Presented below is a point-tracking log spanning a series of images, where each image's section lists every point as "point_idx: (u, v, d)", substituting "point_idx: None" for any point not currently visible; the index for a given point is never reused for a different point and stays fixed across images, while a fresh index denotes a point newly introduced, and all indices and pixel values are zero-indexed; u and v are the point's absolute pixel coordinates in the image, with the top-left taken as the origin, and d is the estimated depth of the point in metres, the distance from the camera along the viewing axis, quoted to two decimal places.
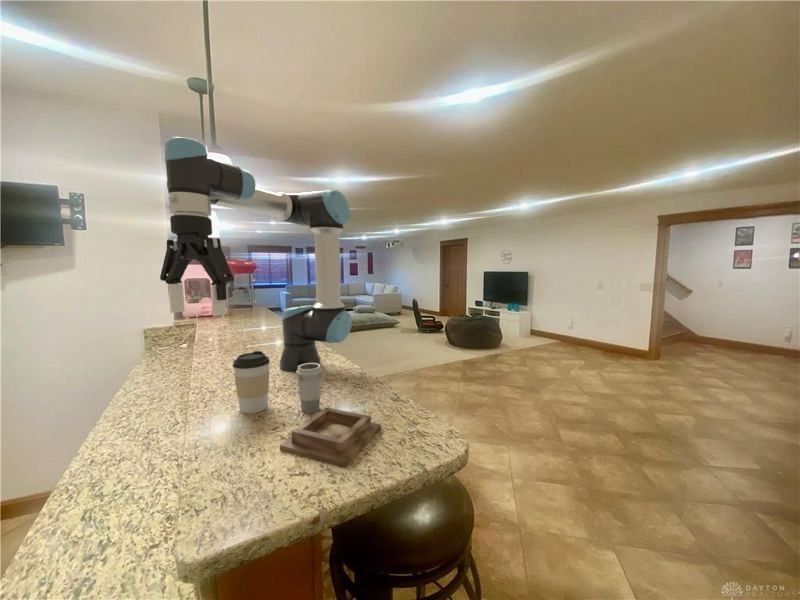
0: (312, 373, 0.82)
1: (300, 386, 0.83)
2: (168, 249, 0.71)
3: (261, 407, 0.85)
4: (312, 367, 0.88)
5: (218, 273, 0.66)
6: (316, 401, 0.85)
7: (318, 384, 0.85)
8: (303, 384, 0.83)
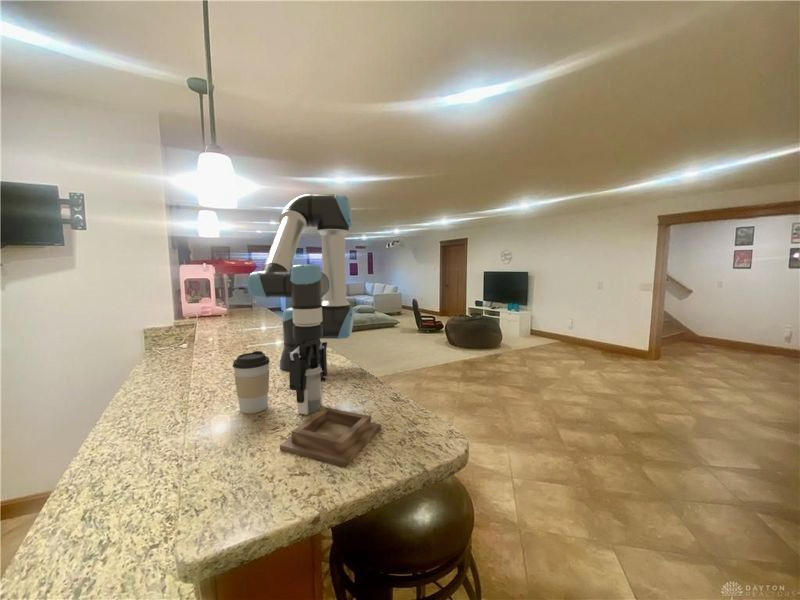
0: (312, 373, 0.82)
1: None
2: None
3: (261, 407, 0.85)
4: None
5: None
6: (316, 401, 0.85)
7: (318, 384, 0.85)
8: None
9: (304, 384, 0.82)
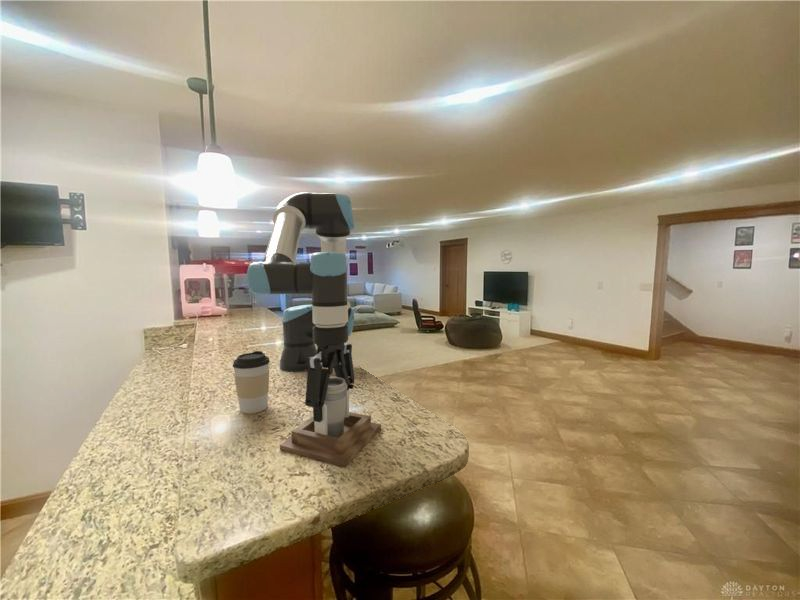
0: (337, 390, 0.68)
1: None
2: None
3: (261, 407, 0.85)
4: (334, 382, 0.74)
5: None
6: (341, 423, 0.70)
7: (343, 403, 0.70)
8: (326, 404, 0.68)
9: (323, 398, 0.66)
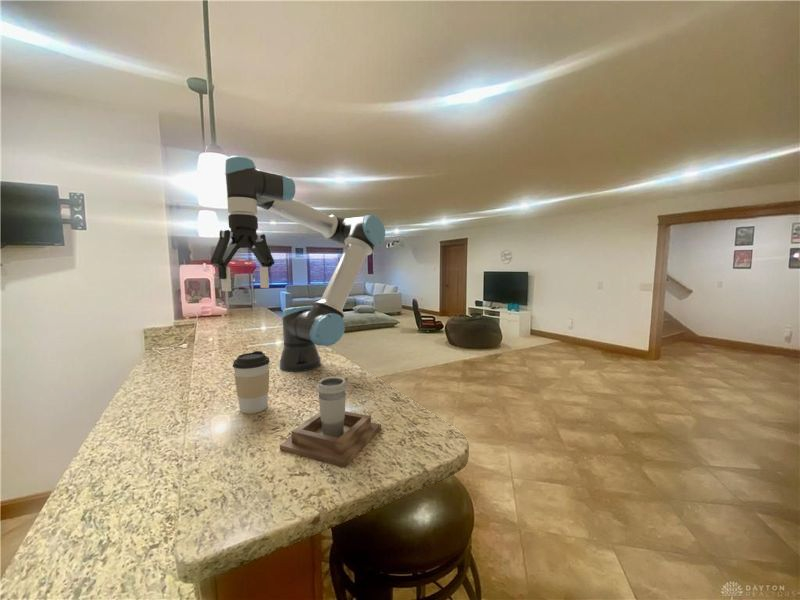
0: (337, 390, 0.68)
1: (322, 406, 0.69)
2: None
3: (261, 407, 0.85)
4: (334, 382, 0.74)
5: None
6: (341, 423, 0.70)
7: (343, 403, 0.70)
8: (326, 404, 0.68)
9: (227, 261, 0.86)
